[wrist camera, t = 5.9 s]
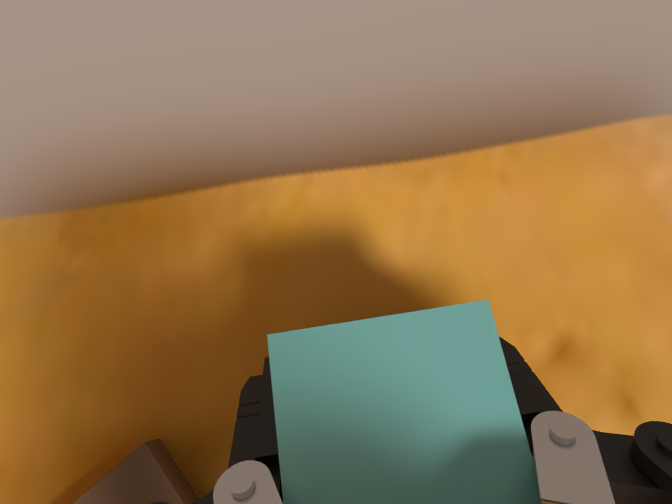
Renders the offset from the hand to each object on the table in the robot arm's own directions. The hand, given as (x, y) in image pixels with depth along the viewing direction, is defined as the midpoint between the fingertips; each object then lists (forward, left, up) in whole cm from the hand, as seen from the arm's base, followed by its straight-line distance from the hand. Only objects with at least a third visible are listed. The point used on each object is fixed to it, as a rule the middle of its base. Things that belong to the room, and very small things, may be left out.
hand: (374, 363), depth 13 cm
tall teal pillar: (+1, +2, -4) cm, 5 cm away
